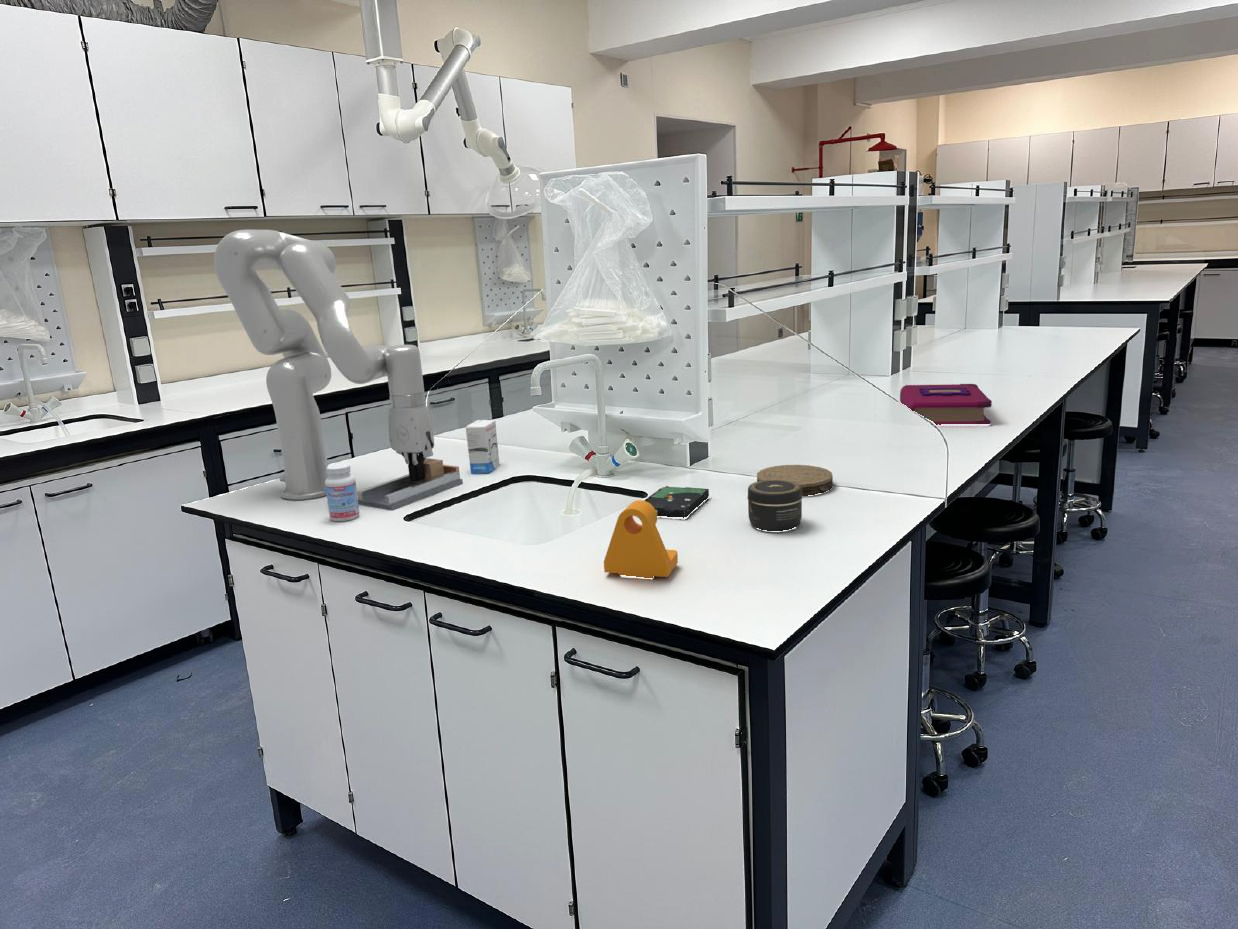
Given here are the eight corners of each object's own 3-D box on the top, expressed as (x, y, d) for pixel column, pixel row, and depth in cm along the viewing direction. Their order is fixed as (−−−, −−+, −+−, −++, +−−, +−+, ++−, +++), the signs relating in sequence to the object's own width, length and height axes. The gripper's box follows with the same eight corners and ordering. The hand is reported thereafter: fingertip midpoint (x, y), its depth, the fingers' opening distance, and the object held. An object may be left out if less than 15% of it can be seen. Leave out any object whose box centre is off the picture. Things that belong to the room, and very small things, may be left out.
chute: (357, 504, 191) (355, 486, 190) (428, 478, 208) (426, 462, 207) (392, 510, 185) (390, 492, 184) (462, 483, 202) (461, 466, 201)
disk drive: (686, 523, 168) (709, 500, 181) (686, 509, 167) (709, 487, 180) (637, 519, 172) (663, 496, 185) (636, 505, 171) (662, 484, 184)
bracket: (679, 565, 145) (676, 497, 142) (667, 581, 139) (664, 510, 136) (618, 561, 149) (614, 494, 146) (604, 576, 142) (600, 507, 139)
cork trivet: (763, 500, 178) (763, 486, 177) (751, 479, 193) (751, 466, 192) (841, 496, 178) (841, 482, 177) (822, 475, 193) (822, 462, 193)
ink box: (488, 474, 209) (484, 426, 206) (469, 474, 210) (464, 426, 208) (500, 464, 218) (496, 419, 215) (481, 464, 219) (477, 419, 216)
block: (413, 482, 201) (411, 461, 200) (426, 478, 204) (423, 457, 203) (432, 485, 198) (430, 464, 196) (444, 480, 201) (442, 460, 200)
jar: (738, 522, 165) (737, 483, 163) (784, 513, 168) (784, 476, 166) (765, 537, 156) (764, 497, 154) (812, 528, 159) (812, 488, 157)
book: (907, 428, 233) (908, 400, 231) (899, 407, 259) (900, 382, 257) (991, 428, 228) (993, 399, 226) (974, 407, 254) (975, 381, 253)
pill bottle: (329, 523, 178) (321, 471, 175) (330, 515, 184) (323, 464, 181) (360, 519, 179) (352, 467, 177) (360, 511, 185) (353, 460, 182)
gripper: (372, 402, 194) (382, 481, 199) (419, 406, 186) (429, 488, 191) (397, 396, 200) (406, 472, 205) (444, 399, 192) (453, 479, 197)
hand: (417, 479), depth 198 cm, fingers closed
